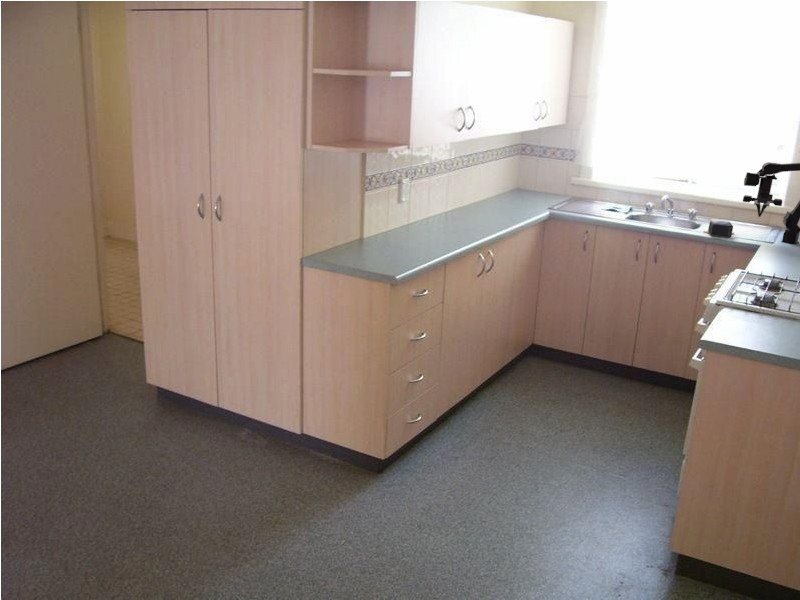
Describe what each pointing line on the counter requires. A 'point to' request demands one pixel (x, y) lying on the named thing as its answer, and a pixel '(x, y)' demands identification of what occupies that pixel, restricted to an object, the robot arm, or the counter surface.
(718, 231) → the small box
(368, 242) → the counter surface
